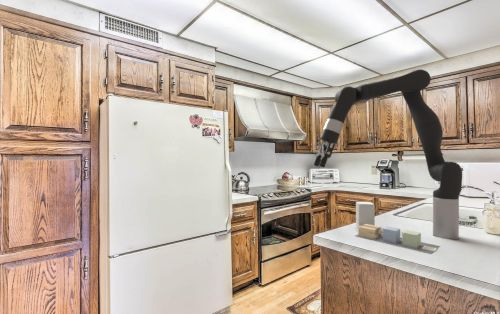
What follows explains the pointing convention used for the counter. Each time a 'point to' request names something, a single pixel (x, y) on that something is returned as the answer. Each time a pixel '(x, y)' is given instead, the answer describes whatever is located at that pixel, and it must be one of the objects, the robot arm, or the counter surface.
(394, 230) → the blue block
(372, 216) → the supplement box
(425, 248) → the card
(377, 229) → the maple base
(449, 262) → the counter surface
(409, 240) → the sage block
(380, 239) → the mat
